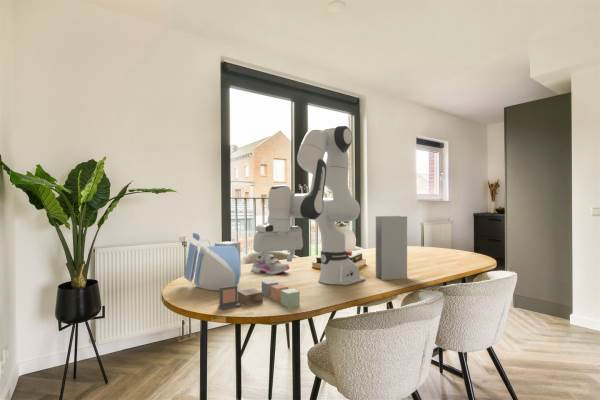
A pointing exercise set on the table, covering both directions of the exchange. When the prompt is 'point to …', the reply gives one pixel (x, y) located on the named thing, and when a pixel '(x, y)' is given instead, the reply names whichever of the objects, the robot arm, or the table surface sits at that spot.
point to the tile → (228, 297)
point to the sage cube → (290, 297)
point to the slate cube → (268, 287)
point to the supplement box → (228, 243)
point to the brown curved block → (250, 296)
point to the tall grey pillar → (391, 247)
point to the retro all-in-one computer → (213, 266)
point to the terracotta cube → (277, 291)
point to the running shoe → (268, 265)
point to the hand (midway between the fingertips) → (278, 262)
